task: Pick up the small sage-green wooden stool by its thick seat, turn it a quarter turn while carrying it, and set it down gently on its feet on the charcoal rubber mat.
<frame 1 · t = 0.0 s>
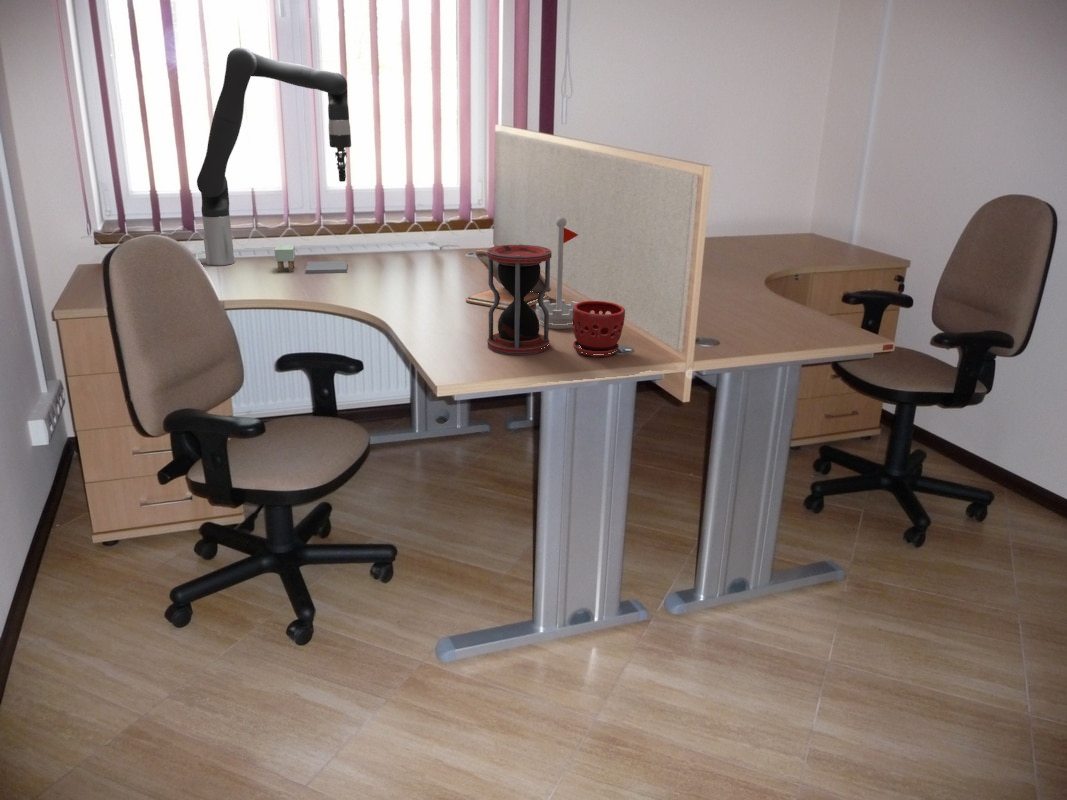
hand: (342, 180, 310), 29 cm above the table, tool pointing down, fingers open, 8 cm apart
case: (508, 301, 268), on the table
plant pot: (597, 353, 219), on the table
hourglass: (518, 346, 223), on the table
mat: (327, 268, 306), on the table
stool: (286, 269, 304), on the table
flag stand: (558, 324, 244), on the table
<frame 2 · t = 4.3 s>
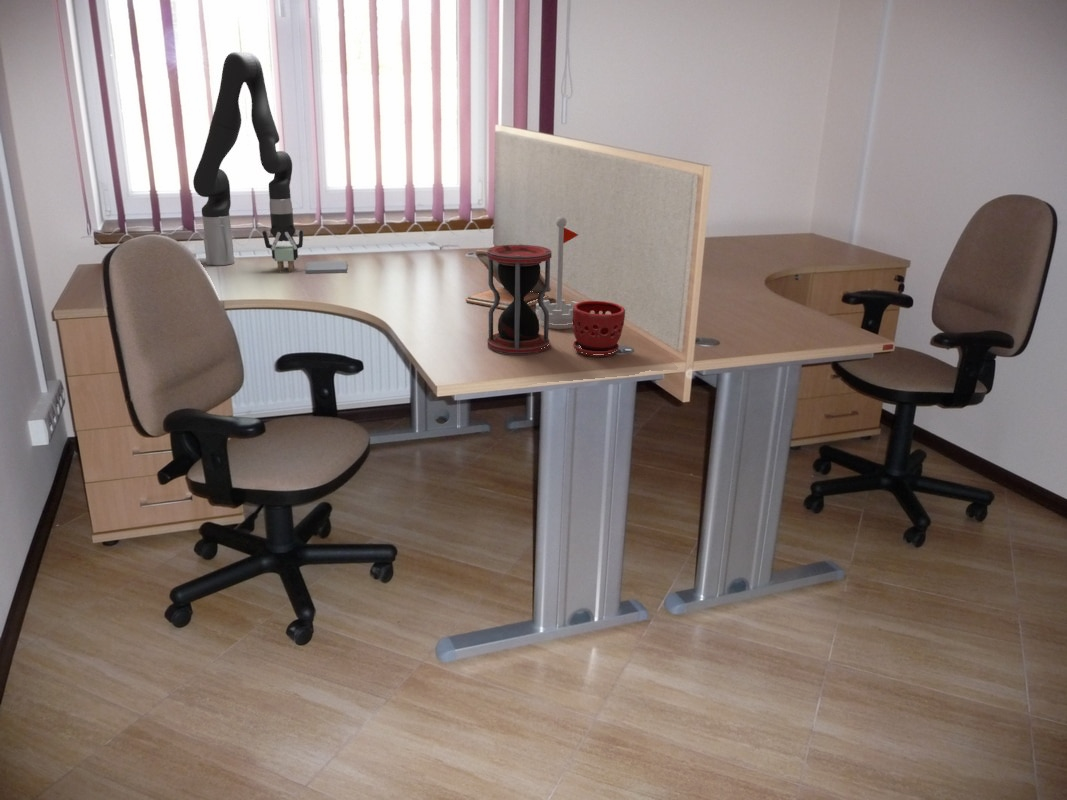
hand: (285, 259, 302), 4 cm above the table, tool pointing down, fingers closed on stool, 6 cm apart
stool: (286, 269, 304), on the table, touching gripper
everything else where it was.
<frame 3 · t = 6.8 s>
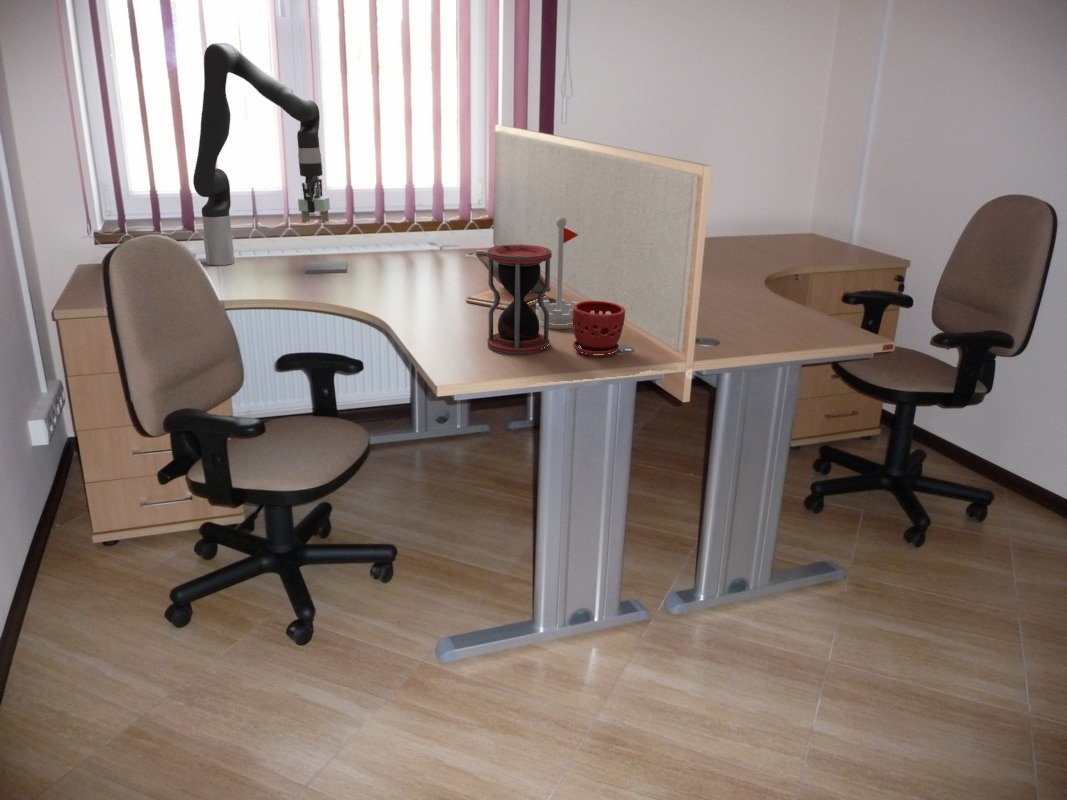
hand: (314, 211, 299), 20 cm above the table, tool pointing down, fingers closed on stool, 6 cm apart
stool: (315, 221, 300), point 17 cm above the table, touching gripper
everything else where it was.
when the fingers open (5 cm above the table, at t = 9.6 s): stool stays where it is, resting on mat.
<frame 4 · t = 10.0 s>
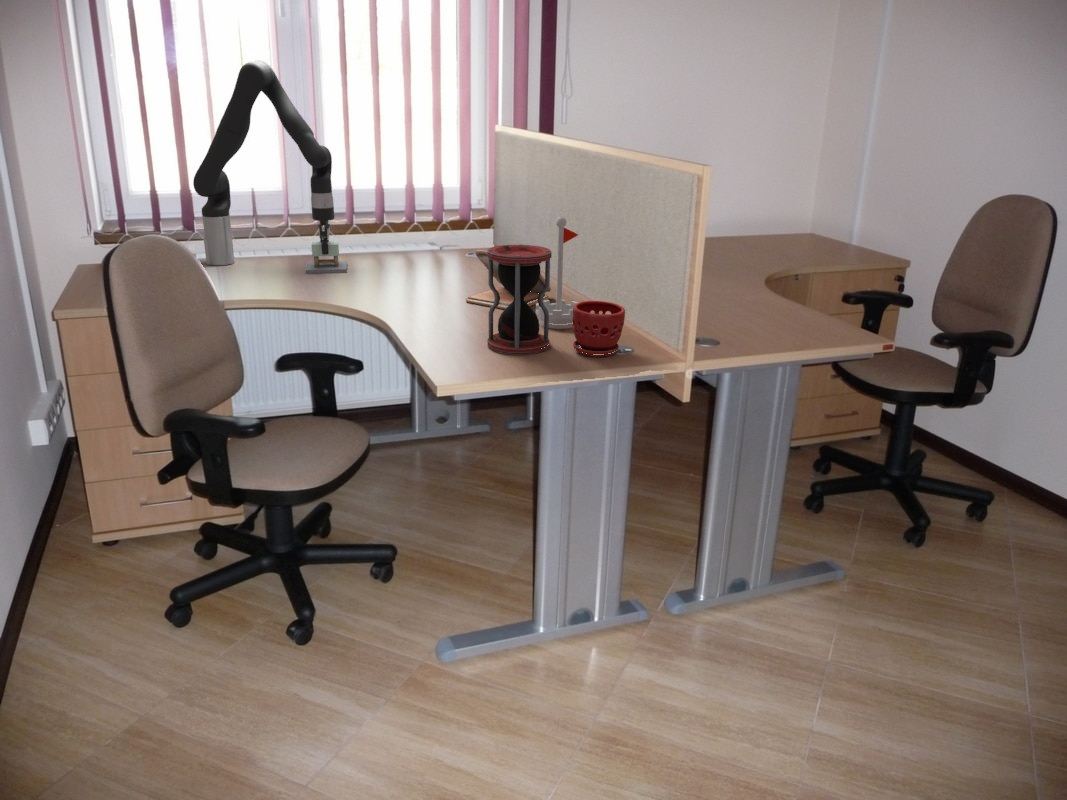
hand: (325, 252, 304), 6 cm above the table, tool pointing down, fingers open, 8 cm apart
stool: (326, 265, 306), point 1 cm above the table, touching mat
everything else where it was.
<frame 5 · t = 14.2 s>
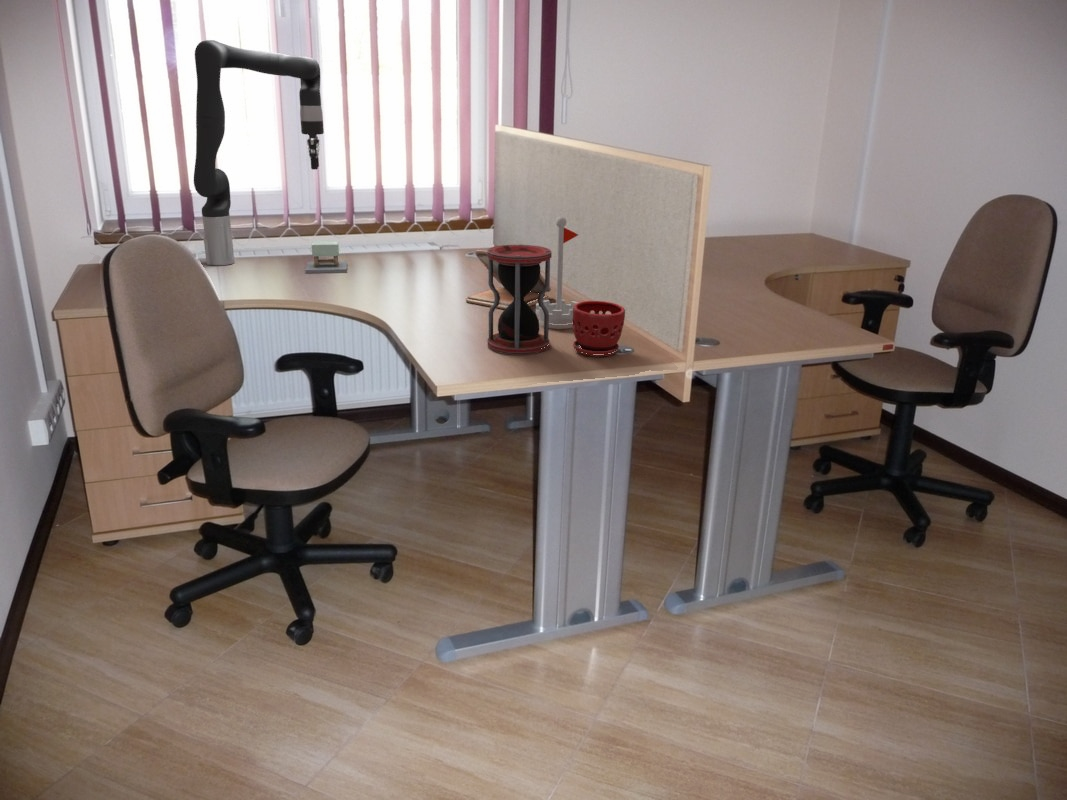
hand: (315, 168, 301), 34 cm above the table, tool pointing down, fingers open, 8 cm apart
nothing on the table moved.
at the end: stool inside the target area on the mat (0.1 cm from its centre), point 1.2 cm above the mat's base; stool tilted 0°; the gripper is holding nothing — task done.
